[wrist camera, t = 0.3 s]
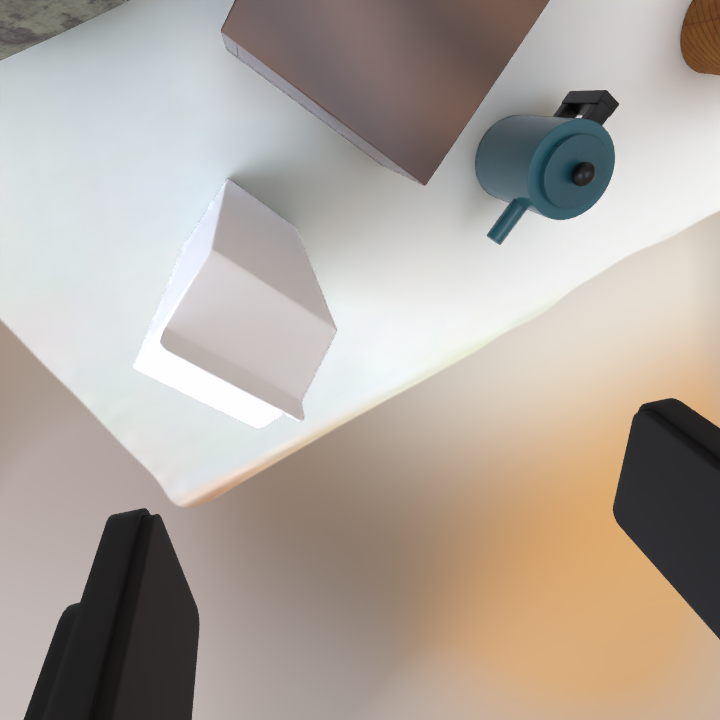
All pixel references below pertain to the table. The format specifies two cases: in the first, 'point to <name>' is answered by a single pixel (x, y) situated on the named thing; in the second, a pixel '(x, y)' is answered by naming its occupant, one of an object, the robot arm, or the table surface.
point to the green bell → (43, 20)
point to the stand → (384, 66)
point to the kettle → (549, 160)
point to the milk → (240, 314)
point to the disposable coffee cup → (702, 36)
